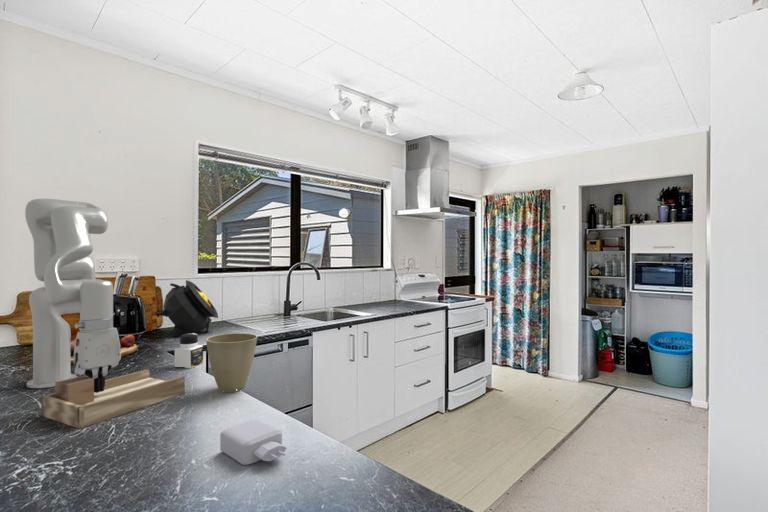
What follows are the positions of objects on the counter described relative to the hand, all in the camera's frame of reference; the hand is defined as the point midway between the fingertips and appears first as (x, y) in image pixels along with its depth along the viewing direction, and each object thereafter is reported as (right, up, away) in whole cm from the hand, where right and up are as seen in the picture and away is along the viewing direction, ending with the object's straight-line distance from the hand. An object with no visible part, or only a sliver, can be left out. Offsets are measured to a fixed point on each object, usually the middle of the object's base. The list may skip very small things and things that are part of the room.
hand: (97, 391), depth 111 cm
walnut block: (-2, -1, -5) cm, 6 cm away
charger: (+54, -4, -29) cm, 61 cm away
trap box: (+5, -4, +1) cm, 6 cm away
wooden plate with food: (-44, -5, +58) cm, 73 cm away
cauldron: (-27, -5, +105) cm, 109 cm away
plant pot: (+32, -4, +14) cm, 35 cm away
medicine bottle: (+6, -4, +41) cm, 41 cm away
